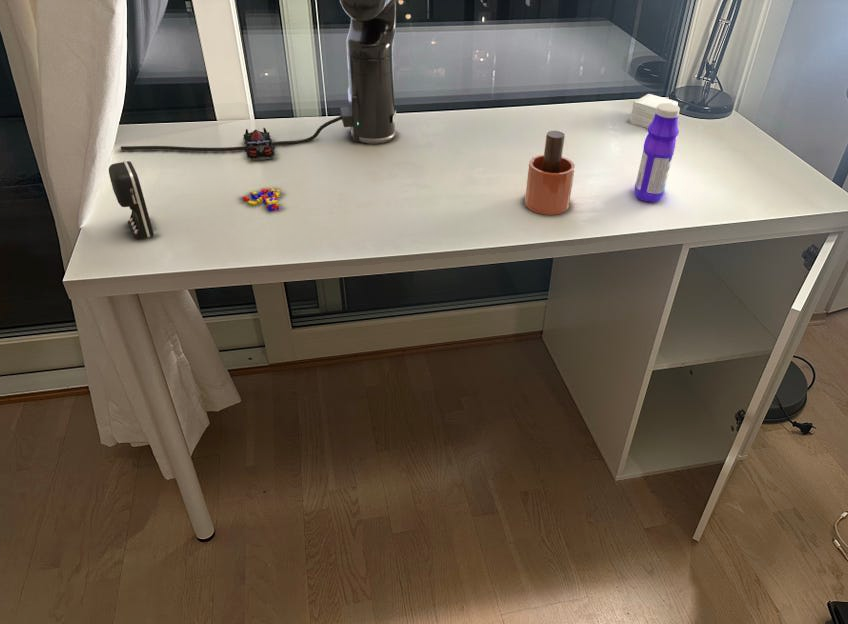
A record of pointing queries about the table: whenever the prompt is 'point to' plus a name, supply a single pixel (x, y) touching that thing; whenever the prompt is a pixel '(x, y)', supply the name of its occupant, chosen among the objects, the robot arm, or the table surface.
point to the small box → (647, 109)
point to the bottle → (657, 153)
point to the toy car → (258, 145)
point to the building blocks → (270, 202)
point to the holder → (549, 187)
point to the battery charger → (131, 197)
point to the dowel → (553, 151)
